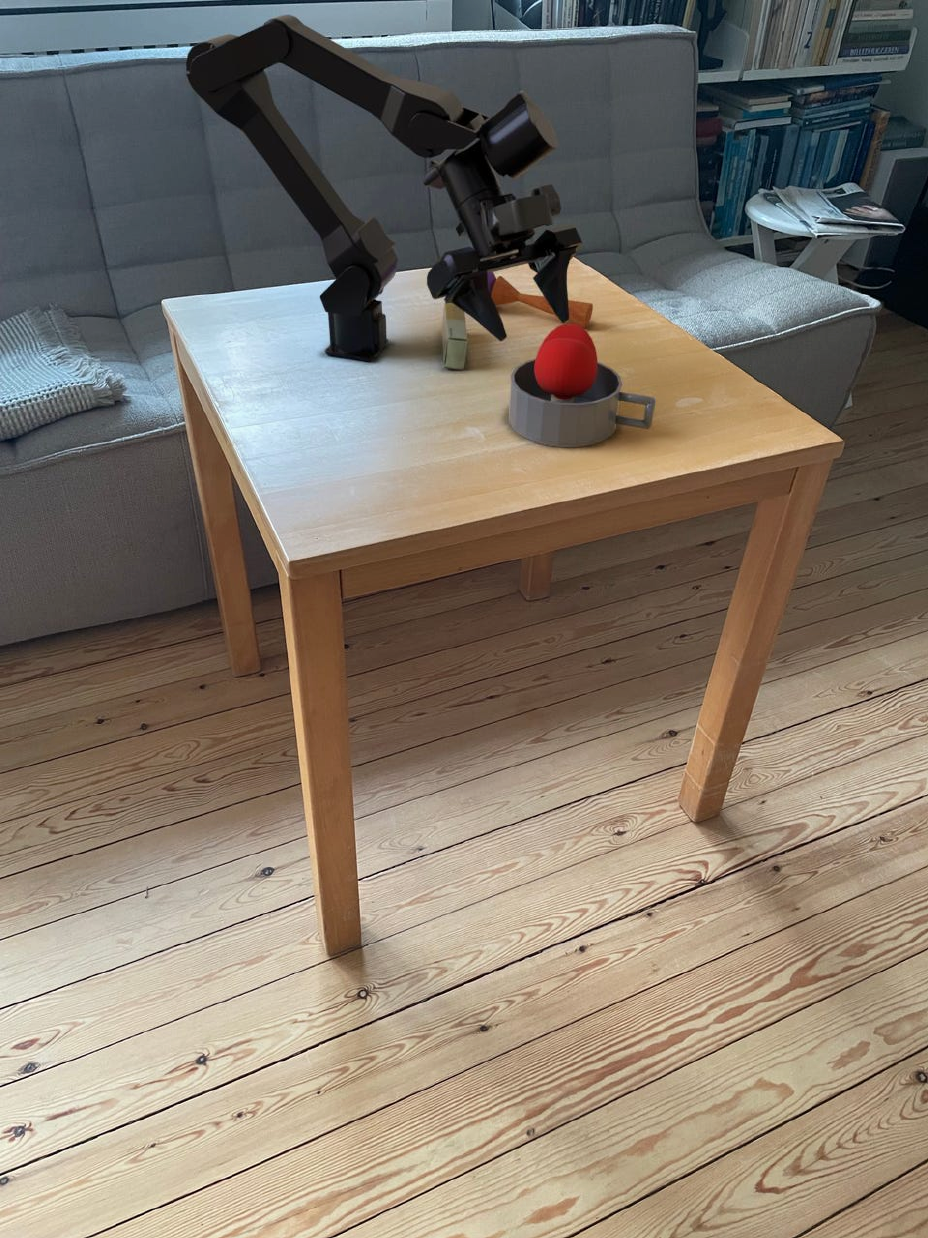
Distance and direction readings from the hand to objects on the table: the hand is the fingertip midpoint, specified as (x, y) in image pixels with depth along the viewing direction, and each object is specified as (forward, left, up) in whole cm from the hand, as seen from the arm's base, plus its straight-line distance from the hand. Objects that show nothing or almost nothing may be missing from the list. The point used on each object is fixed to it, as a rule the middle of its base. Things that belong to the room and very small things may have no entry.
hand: (535, 330), depth 105 cm
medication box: (-13, +11, -9) cm, 19 cm away
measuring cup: (+7, -3, -9) cm, 12 cm away
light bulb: (+4, -3, -9) cm, 10 cm away
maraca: (-8, +26, -9) cm, 29 cm away
